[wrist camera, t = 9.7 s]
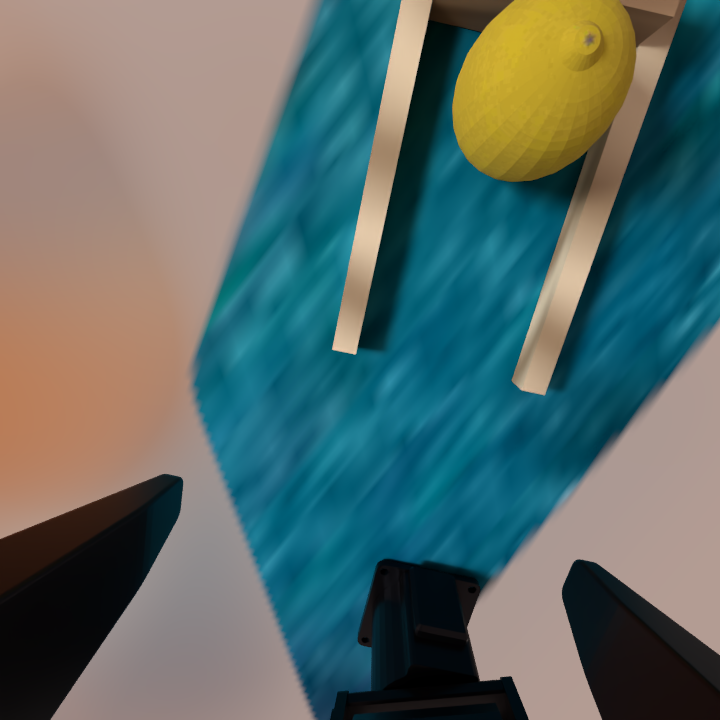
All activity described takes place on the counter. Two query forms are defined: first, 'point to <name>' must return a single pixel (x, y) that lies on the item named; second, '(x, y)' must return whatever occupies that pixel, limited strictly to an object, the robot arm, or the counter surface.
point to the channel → (590, 199)
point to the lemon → (543, 85)
